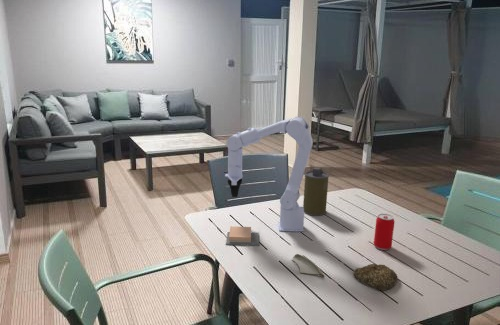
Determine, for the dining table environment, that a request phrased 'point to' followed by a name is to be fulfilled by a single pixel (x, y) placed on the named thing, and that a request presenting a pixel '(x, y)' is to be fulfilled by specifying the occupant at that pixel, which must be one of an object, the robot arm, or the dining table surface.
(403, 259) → the dining table surface
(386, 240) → the beverage can
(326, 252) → the dining table surface
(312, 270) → the ceramic fragment
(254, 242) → the mat
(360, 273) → the mossy rock
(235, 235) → the peach green flat block
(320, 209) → the canister
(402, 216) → the dining table surface
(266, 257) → the dining table surface
